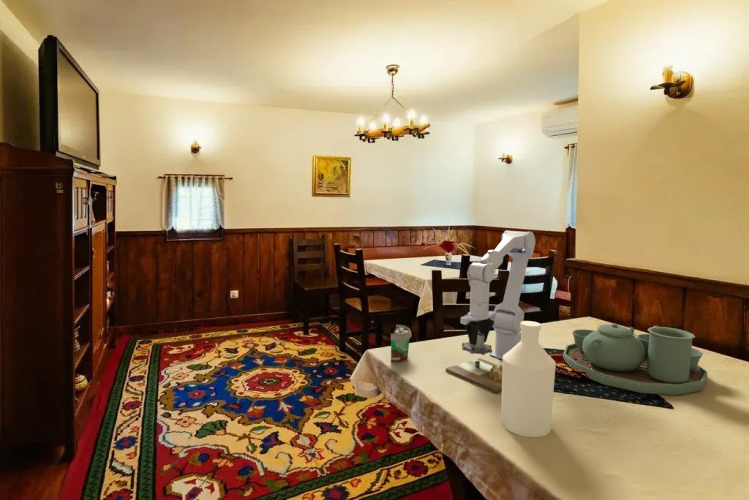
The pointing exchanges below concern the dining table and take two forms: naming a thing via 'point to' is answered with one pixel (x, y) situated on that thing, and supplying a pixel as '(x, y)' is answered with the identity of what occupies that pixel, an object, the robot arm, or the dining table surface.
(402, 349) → the food container
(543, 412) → the bottle
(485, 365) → the carrier board
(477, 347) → the planet gear
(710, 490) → the dining table surface
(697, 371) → the tea set
